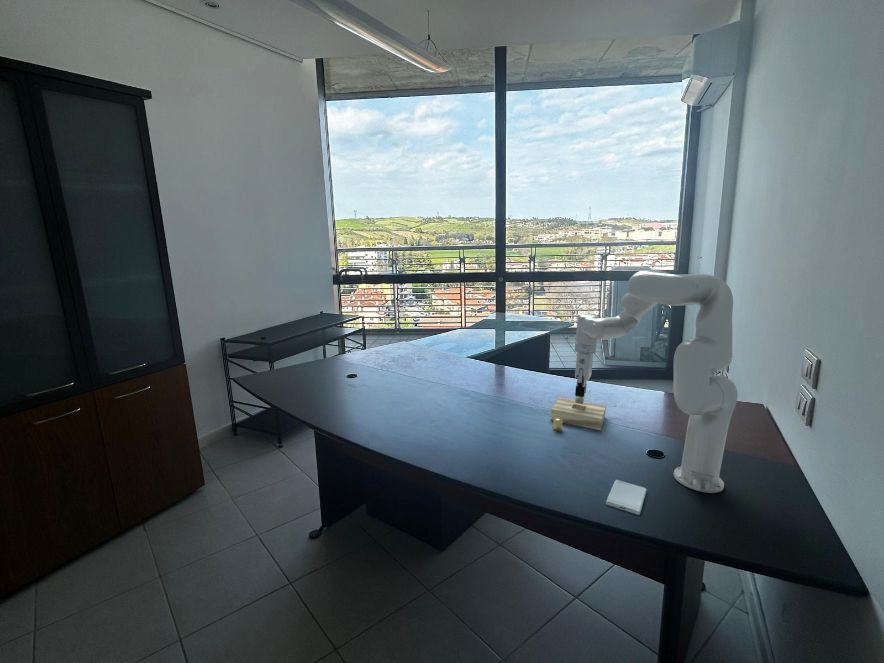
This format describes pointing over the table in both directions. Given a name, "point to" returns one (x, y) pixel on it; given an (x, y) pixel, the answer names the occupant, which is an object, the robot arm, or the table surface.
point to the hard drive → (626, 497)
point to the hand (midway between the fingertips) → (580, 394)
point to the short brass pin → (557, 424)
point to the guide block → (579, 413)
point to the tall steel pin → (580, 399)
